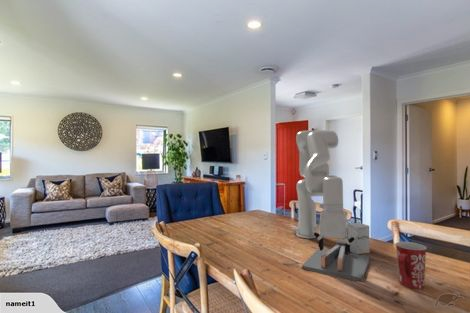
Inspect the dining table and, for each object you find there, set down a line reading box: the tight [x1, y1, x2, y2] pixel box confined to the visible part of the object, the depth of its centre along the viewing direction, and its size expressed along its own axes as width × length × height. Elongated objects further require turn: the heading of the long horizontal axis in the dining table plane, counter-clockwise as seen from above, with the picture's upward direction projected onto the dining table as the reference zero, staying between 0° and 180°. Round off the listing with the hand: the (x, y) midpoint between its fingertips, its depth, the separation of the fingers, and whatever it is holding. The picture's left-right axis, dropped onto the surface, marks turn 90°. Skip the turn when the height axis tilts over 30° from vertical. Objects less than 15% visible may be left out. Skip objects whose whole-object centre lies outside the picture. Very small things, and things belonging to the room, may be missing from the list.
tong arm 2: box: [338, 246, 345, 271], centre depth 110 cm, size 2×18×4 cm, turn 154°
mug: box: [395, 241, 427, 290], centre depth 93 cm, size 13×9×14 cm
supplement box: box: [347, 222, 370, 255], centre depth 126 cm, size 7×7×13 cm
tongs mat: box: [301, 247, 371, 282], centre depth 112 cm, size 22×24×1 cm
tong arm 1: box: [321, 244, 340, 268], centre depth 112 cm, size 2×18×4 cm, turn 140°
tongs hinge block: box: [335, 239, 350, 255], centre depth 121 cm, size 5×3×5 cm, turn 57°
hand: (334, 251), depth 107 cm, fingers open, 9 cm apart
